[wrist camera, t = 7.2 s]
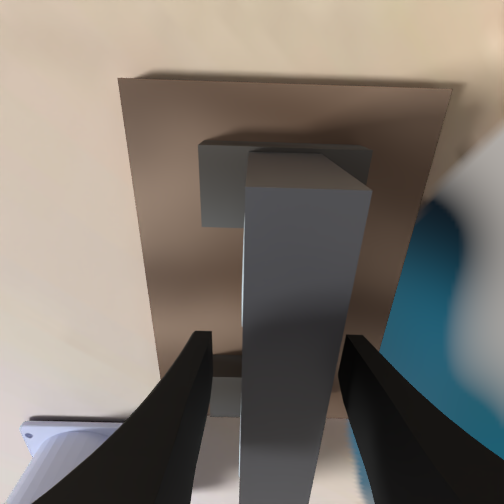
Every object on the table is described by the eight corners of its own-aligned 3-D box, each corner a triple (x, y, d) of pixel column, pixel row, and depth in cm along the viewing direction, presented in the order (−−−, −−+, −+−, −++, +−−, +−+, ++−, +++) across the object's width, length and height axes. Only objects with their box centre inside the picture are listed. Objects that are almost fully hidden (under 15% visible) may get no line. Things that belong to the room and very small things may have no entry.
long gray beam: (289, 420, 17) (302, 537, 12) (241, 419, 17) (237, 537, 12) (322, 153, 10) (375, 190, 6) (247, 151, 10) (242, 186, 6)
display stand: (355, 404, 20) (368, 443, 17) (169, 400, 20) (158, 438, 17) (437, 90, 12) (480, 86, 10) (128, 80, 12) (98, 74, 9)
